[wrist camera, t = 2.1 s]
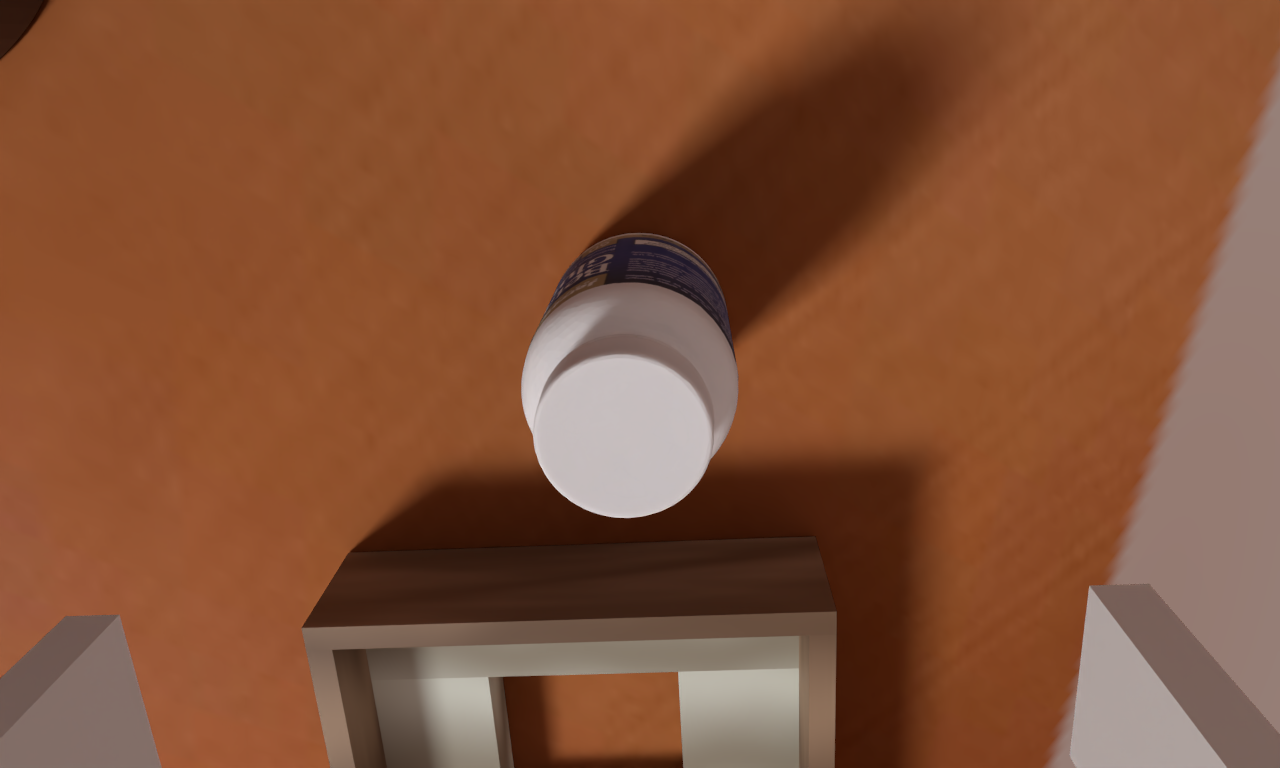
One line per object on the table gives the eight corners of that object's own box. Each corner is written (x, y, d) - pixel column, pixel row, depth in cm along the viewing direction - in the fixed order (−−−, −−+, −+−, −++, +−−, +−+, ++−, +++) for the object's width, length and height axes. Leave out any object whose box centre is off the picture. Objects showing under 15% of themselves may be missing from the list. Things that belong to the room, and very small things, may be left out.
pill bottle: (598, 198, 29) (563, 274, 20) (756, 276, 30) (793, 386, 20) (525, 351, 31) (462, 487, 21) (676, 422, 31) (678, 584, 22)
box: (348, 552, 33) (301, 627, 29) (815, 536, 32) (836, 611, 28) (405, 864, 38) (371, 968, 34) (813, 857, 37) (831, 962, 33)
